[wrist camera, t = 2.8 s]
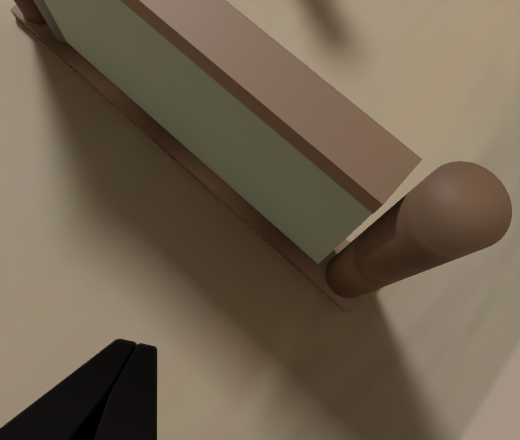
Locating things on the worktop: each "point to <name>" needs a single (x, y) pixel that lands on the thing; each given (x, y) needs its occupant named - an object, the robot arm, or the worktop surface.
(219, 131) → the gate
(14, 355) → the worktop surface
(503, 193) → the gate frame
